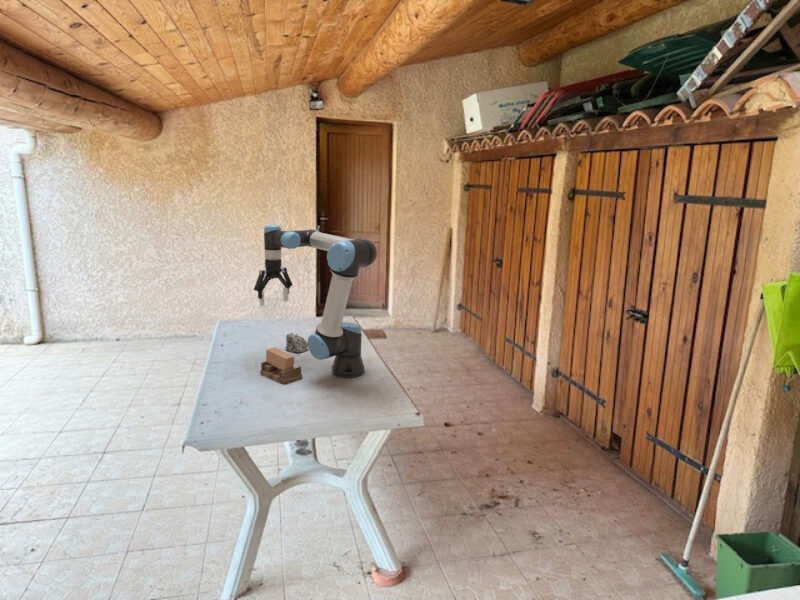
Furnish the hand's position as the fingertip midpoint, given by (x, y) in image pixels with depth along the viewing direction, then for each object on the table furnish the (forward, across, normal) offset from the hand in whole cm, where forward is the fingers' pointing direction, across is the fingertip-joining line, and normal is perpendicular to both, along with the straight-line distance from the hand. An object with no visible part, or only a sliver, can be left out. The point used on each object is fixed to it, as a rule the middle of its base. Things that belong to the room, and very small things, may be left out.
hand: (274, 303), depth 242 cm
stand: (+29, +11, +19) cm, 36 cm away
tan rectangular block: (+24, +11, +18) cm, 32 cm away
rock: (+29, -18, -6) cm, 35 cm away
